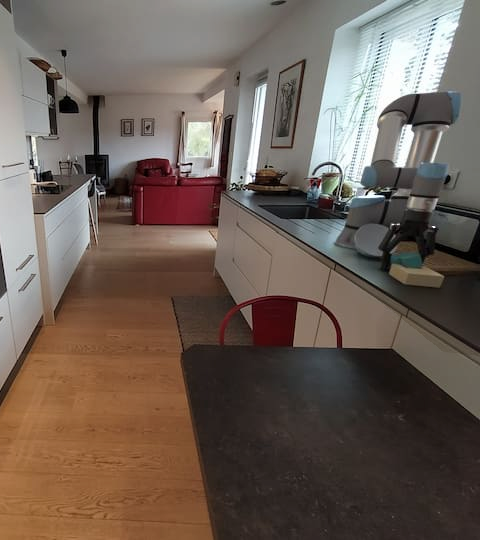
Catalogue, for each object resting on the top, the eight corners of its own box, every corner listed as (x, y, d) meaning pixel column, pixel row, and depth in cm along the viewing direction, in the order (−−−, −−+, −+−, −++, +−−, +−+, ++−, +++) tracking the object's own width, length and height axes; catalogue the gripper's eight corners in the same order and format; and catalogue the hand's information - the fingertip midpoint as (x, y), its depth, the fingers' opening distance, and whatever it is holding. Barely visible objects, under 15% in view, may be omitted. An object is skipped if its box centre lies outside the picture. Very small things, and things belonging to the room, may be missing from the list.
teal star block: (384, 267, 123) (381, 257, 123) (408, 262, 121) (406, 252, 121) (402, 271, 112) (399, 259, 112) (429, 265, 110) (426, 253, 110)
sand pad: (388, 274, 117) (392, 263, 115) (420, 277, 114) (424, 266, 113) (404, 284, 107) (408, 273, 106) (440, 287, 105) (444, 276, 104)
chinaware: (360, 268, 137) (369, 261, 130) (339, 239, 143) (347, 231, 136) (395, 256, 136) (406, 248, 129) (372, 228, 142) (382, 218, 135)
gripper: (389, 209, 110) (369, 271, 118) (464, 213, 106) (439, 277, 114) (378, 206, 117) (360, 264, 125) (448, 210, 113) (426, 270, 121)
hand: (398, 270), depth 119 cm, fingers closed on teal star block, 9 cm apart
